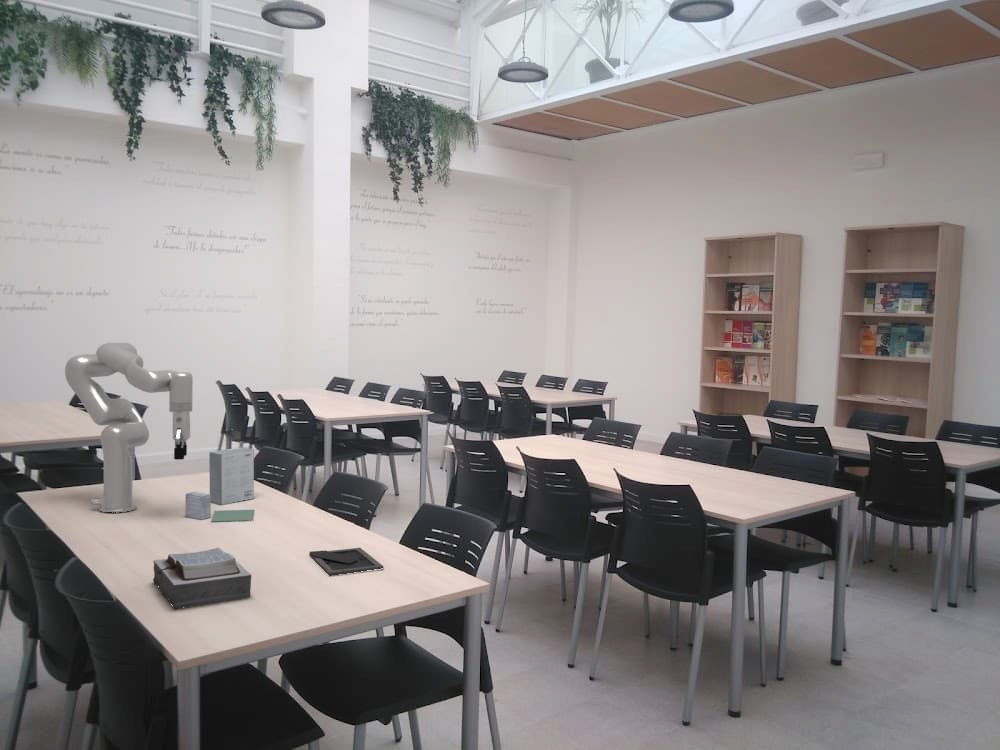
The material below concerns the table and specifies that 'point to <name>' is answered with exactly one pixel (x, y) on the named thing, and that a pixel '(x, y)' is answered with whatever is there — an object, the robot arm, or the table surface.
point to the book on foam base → (201, 578)
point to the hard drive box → (231, 475)
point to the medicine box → (198, 505)
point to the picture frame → (344, 561)
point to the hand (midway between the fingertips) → (180, 457)
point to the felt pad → (232, 515)
